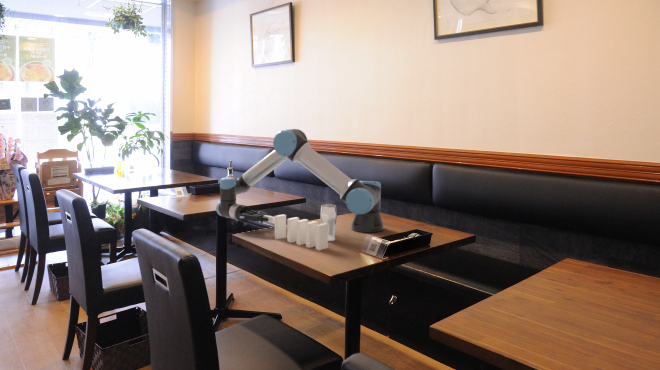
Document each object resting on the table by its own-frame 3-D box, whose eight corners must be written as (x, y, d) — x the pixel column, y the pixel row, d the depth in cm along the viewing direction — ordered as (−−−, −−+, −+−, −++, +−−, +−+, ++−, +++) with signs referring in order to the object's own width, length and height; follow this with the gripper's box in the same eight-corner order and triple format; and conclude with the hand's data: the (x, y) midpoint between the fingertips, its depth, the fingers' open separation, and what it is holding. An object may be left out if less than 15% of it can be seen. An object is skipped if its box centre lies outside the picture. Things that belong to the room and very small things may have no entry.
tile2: (287, 241, 206) (287, 218, 205) (295, 239, 210) (295, 217, 209) (290, 242, 205) (290, 219, 204) (299, 240, 209) (299, 217, 207)
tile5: (315, 249, 195) (315, 225, 194) (324, 246, 199) (324, 223, 198) (319, 250, 194) (319, 225, 193) (327, 247, 198) (327, 223, 196)
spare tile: (274, 238, 212) (274, 216, 210) (283, 236, 215) (283, 214, 214) (277, 239, 210) (277, 216, 209) (286, 237, 214) (286, 215, 213)
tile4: (305, 246, 199) (305, 222, 198) (314, 244, 203) (314, 221, 201) (309, 247, 198) (309, 223, 196) (317, 245, 201) (317, 221, 200)
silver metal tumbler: (339, 239, 212) (339, 205, 210) (331, 242, 206) (331, 207, 204) (325, 236, 215) (326, 203, 213) (317, 240, 209) (317, 206, 207)
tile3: (296, 244, 203) (296, 220, 201) (304, 242, 206) (304, 219, 205) (299, 245, 201) (299, 221, 200) (308, 242, 205) (308, 219, 204)
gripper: (251, 218, 235) (285, 226, 219) (229, 222, 225) (263, 231, 209) (251, 203, 233) (285, 210, 218) (229, 206, 224) (263, 214, 208)
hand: (274, 220), depth 214 cm, fingers closed
